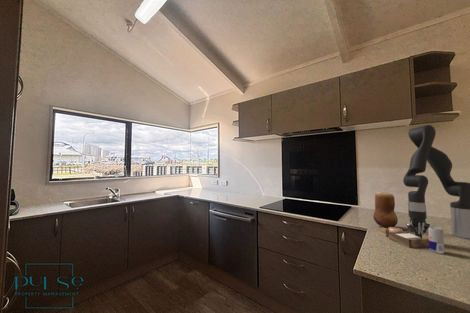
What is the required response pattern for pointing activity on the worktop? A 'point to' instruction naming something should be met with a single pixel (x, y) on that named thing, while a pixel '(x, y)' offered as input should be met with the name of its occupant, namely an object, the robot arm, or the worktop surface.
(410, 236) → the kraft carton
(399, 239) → the walnut display stand
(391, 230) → the cream small lump
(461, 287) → the worktop surface
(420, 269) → the worktop surface
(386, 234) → the oak block
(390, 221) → the butternut squash
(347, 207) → the worktop surface
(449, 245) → the worktop surface
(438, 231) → the energy drink
